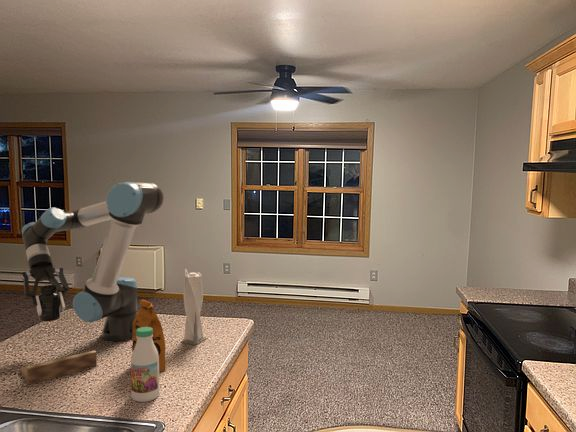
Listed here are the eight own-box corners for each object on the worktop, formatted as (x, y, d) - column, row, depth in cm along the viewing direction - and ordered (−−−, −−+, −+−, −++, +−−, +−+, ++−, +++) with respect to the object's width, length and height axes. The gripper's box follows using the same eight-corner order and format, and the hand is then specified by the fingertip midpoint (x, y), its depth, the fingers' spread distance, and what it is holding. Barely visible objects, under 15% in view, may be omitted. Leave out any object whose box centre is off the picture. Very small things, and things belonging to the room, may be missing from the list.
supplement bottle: (65, 317, 161) (63, 284, 160) (49, 323, 154) (47, 289, 153) (50, 315, 163) (49, 283, 162) (34, 320, 157) (32, 287, 155)
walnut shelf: (85, 355, 157) (84, 341, 156) (96, 366, 148) (96, 351, 147) (20, 371, 144) (19, 356, 143) (28, 384, 135) (28, 368, 134)
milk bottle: (135, 390, 132) (134, 324, 130) (161, 389, 132) (160, 324, 131) (128, 403, 124) (126, 334, 122) (156, 402, 125) (155, 333, 123)
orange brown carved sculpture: (138, 378, 140) (136, 309, 138) (130, 363, 150) (129, 300, 148) (169, 371, 145) (168, 305, 143) (159, 357, 155) (159, 296, 153)
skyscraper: (178, 341, 171) (177, 270, 168) (190, 335, 178) (189, 266, 176) (196, 345, 167) (196, 272, 165) (208, 338, 175) (207, 268, 173)
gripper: (66, 261, 175) (79, 311, 164) (7, 268, 162) (18, 322, 151) (69, 250, 171) (83, 300, 160) (9, 255, 158) (21, 311, 147)
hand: (52, 311), depth 156 cm, fingers closed on supplement bottle, 7 cm apart
